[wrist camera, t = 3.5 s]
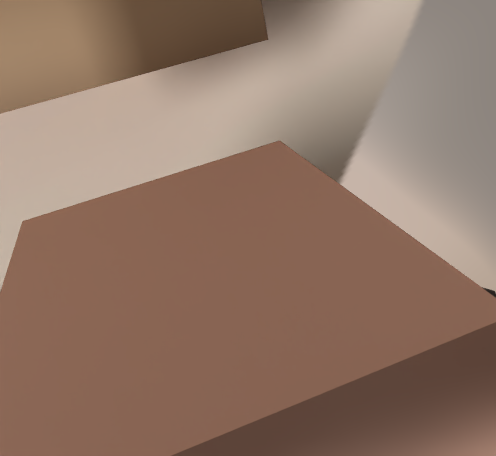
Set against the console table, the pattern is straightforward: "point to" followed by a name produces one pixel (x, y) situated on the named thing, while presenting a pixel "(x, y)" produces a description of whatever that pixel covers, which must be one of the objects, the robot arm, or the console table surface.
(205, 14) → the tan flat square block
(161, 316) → the peach block
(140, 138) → the console table surface
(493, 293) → the robot arm
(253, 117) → the console table surface
